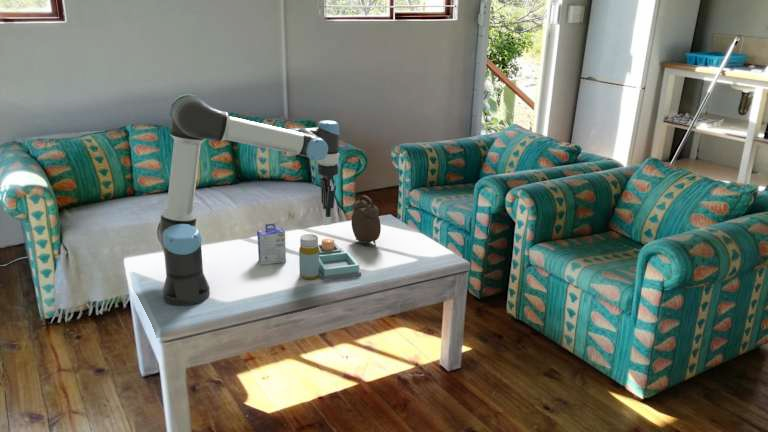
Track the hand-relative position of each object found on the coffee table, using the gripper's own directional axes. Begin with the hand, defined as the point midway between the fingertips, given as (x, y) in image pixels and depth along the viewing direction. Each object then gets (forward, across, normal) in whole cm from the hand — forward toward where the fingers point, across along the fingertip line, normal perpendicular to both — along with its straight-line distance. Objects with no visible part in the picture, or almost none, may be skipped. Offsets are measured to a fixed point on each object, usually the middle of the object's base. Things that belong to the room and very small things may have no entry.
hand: (327, 223), depth 251 cm
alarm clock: (+14, +10, -20) cm, 26 cm away
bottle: (+14, -14, +10) cm, 23 cm away
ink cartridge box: (+15, +3, +20) cm, 25 cm away
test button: (+12, 0, -1) cm, 12 cm away
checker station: (+14, -7, -1) cm, 16 cm away
